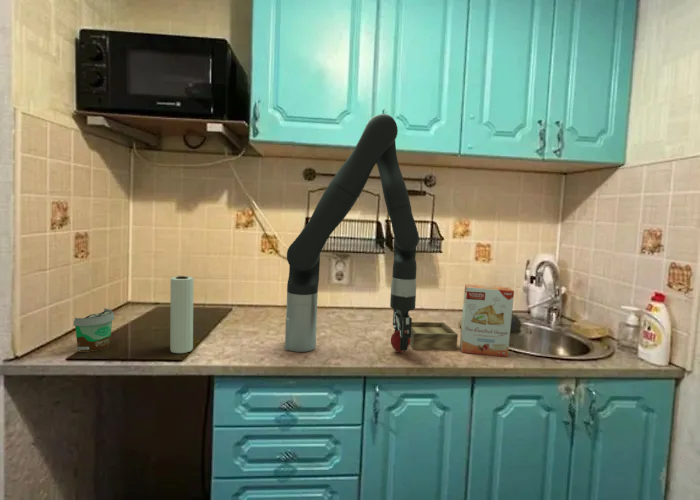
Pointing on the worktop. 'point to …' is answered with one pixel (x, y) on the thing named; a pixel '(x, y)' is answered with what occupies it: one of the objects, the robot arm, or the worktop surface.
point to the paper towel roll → (181, 314)
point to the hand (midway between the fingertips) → (400, 345)
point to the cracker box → (486, 320)
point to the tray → (432, 336)
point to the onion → (397, 341)
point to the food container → (94, 330)
